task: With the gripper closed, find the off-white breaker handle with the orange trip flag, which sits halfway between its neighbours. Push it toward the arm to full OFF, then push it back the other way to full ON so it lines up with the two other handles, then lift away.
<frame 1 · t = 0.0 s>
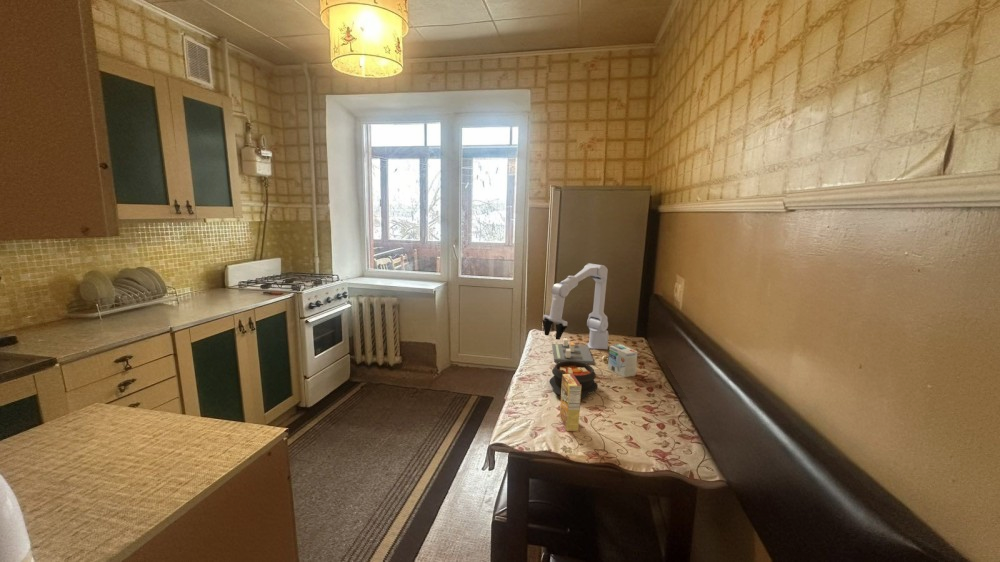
hand: (552, 337, 176), 11 cm above the table, tool pointing down, fingers open, 7 cm apart
breaker panel: (571, 354, 184), on the table
light bulb box: (621, 372, 164), on the table
candy box: (568, 424, 121), on the table
casserole: (572, 388, 148), on the table
tripped handle: (571, 347, 183), point 4 cm above the table, slide at 2.5 cm
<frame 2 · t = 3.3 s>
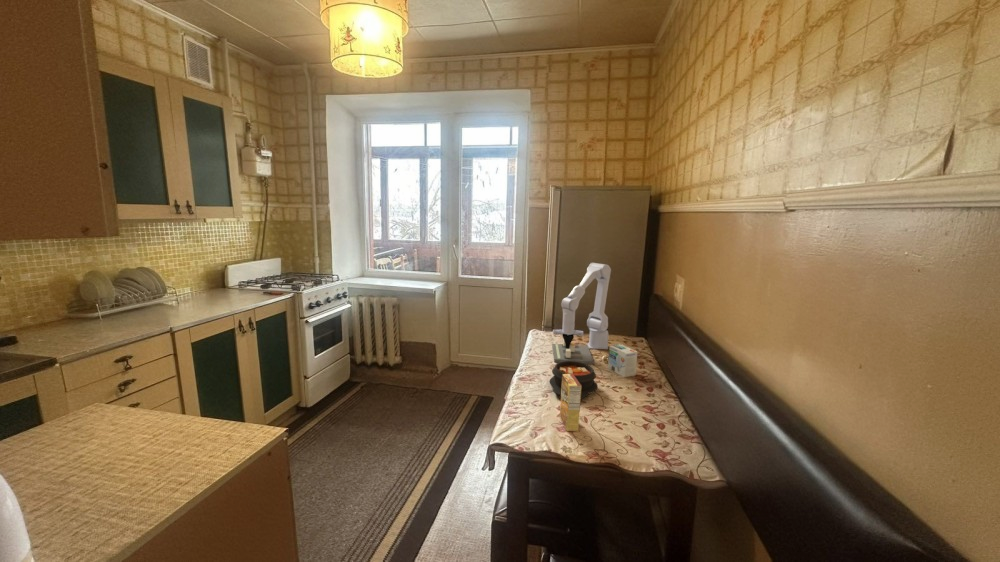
hand: (567, 348, 183), 3 cm above the table, tool pointing down, fingers closed
tripped handle: (572, 347, 183), point 4 cm above the table, slide at 2.3 cm, touching gripper
everything else where it was.
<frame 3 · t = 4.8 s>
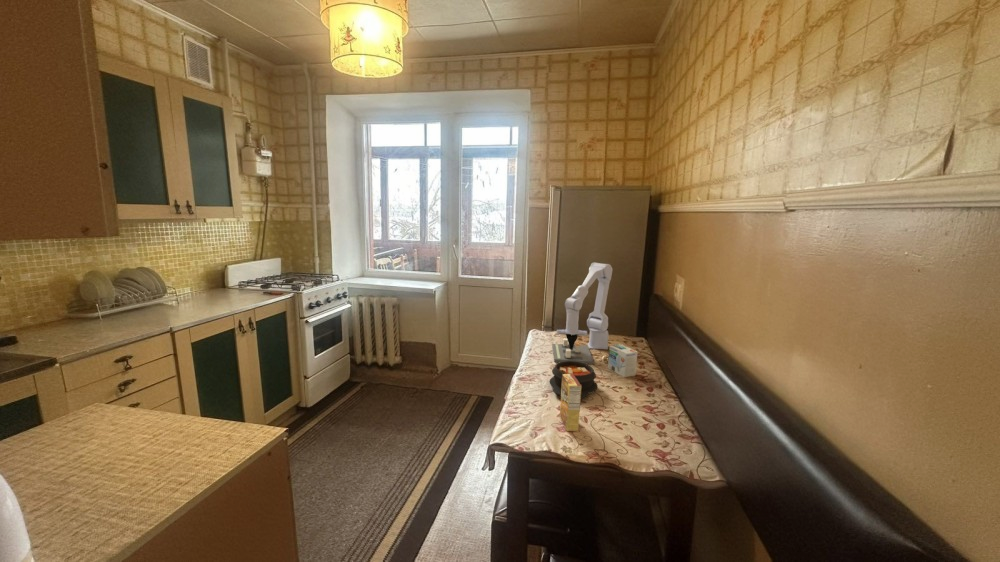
hand: (570, 349, 183), 3 cm above the table, tool pointing down, fingers closed
tripped handle: (577, 347, 183), point 4 cm above the table, slide at -0.1 cm
everything else where it was.
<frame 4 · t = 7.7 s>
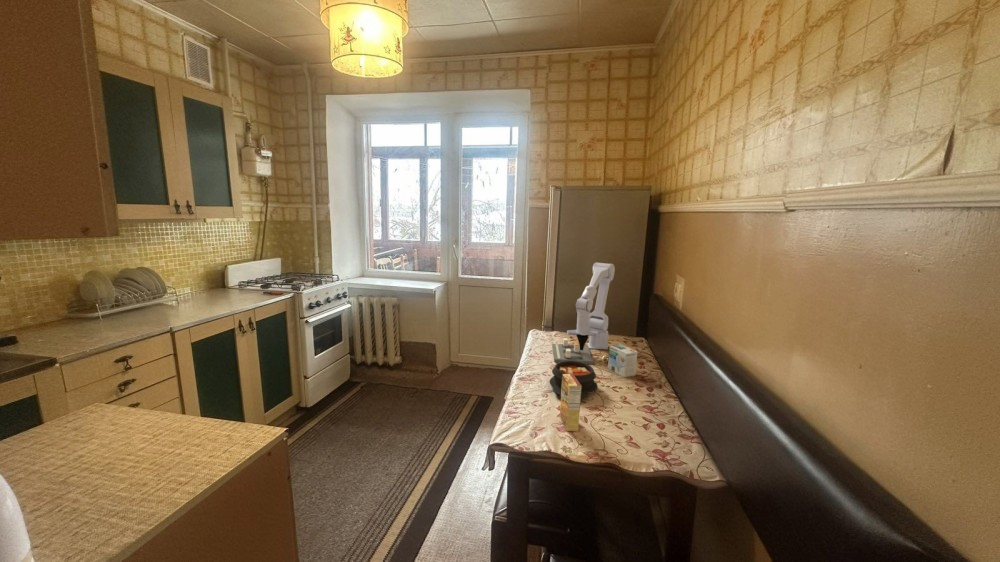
hand: (581, 349, 183), 3 cm above the table, tool pointing down, fingers closed
tripped handle: (576, 347, 183), point 4 cm above the table, slide at 0.3 cm, touching gripper
everything else where it was.
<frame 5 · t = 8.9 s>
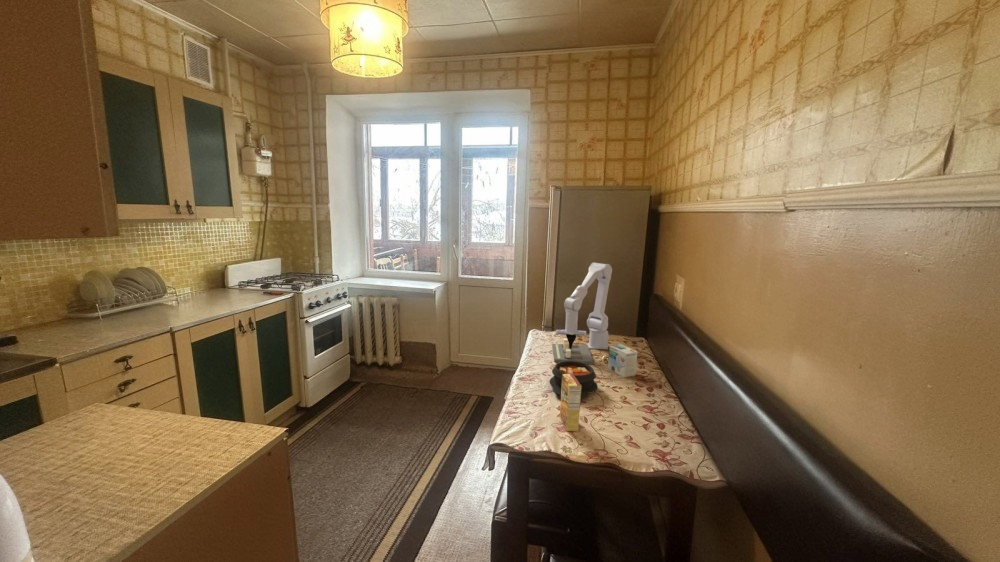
hand: (570, 349, 183), 3 cm above the table, tool pointing down, fingers closed
tripped handle: (566, 347, 183), point 4 cm above the table, slide at 5.3 cm, touching gripper
everything else where it was.
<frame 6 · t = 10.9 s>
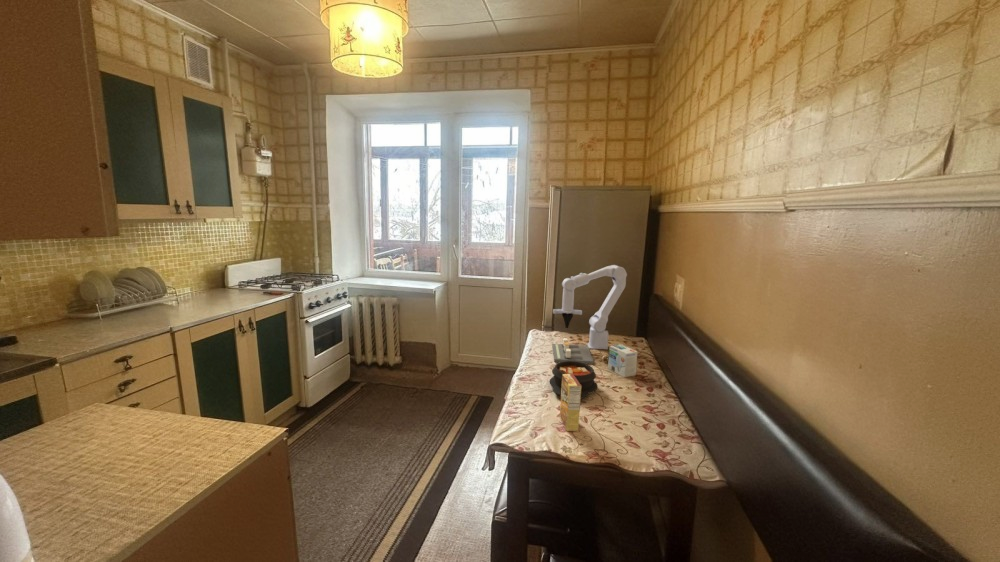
hand: (566, 327, 194), 10 cm above the table, tool pointing down, fingers closed
tripped handle: (566, 347, 183), point 4 cm above the table, slide at 5.1 cm
everything else where it was.
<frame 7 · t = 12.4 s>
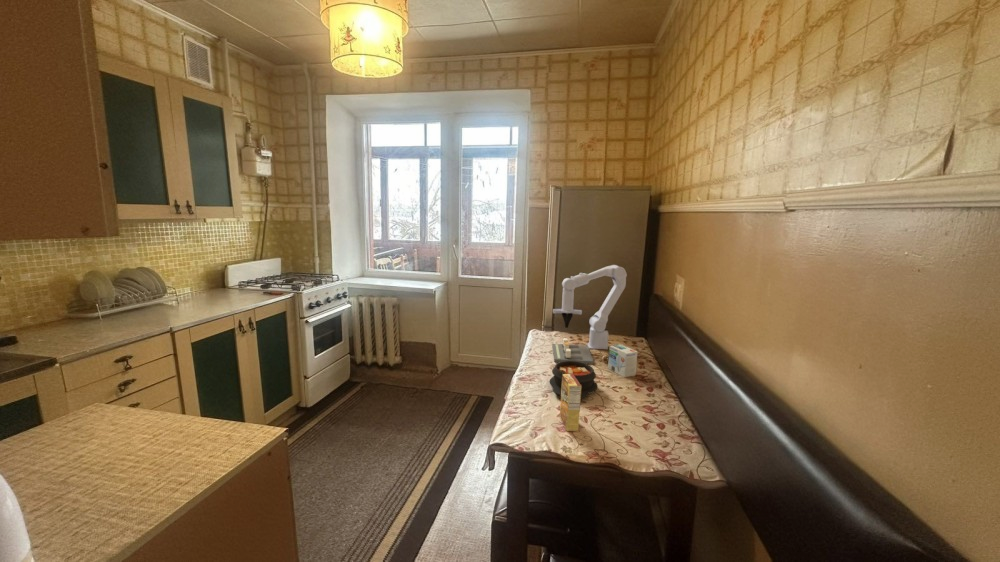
hand: (566, 327, 194), 10 cm above the table, tool pointing down, fingers closed
nothing on the table moved.
at the end: tripped handle slide at 5.1 cm; light bulb box moved 0.3 cm from its start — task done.
